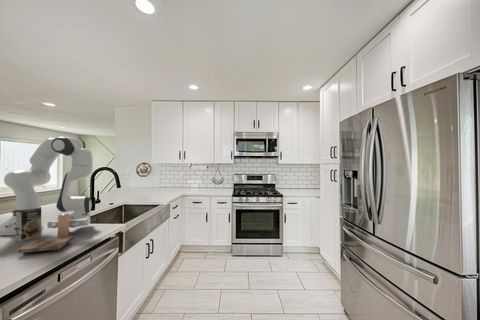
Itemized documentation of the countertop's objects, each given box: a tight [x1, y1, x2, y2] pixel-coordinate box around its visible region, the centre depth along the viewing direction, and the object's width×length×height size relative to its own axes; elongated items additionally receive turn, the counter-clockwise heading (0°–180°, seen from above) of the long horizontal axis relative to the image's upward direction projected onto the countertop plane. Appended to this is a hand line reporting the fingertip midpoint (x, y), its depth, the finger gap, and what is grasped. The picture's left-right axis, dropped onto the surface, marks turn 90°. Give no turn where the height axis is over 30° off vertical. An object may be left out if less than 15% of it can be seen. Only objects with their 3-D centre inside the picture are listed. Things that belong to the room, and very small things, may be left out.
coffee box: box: [14, 208, 42, 242], centre depth 124 cm, size 9×6×16 cm
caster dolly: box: [17, 236, 74, 256], centre depth 108 cm, size 16×14×4 cm
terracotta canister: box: [57, 213, 70, 238], centre depth 123 cm, size 5×5×14 cm
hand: (63, 226), depth 122 cm, fingers open, 8 cm apart
